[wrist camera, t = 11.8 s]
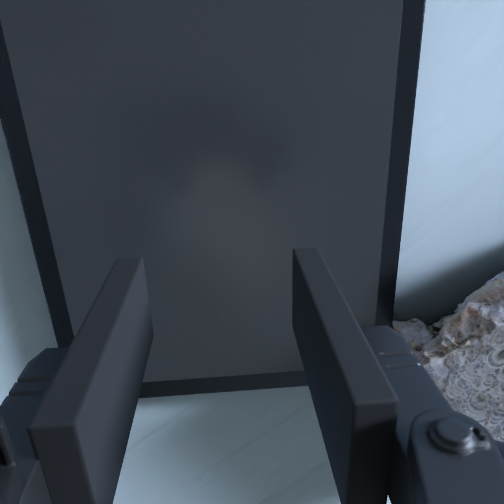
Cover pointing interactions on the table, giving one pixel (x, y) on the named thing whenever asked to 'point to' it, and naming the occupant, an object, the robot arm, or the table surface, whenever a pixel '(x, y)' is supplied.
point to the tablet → (212, 165)
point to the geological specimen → (467, 354)
